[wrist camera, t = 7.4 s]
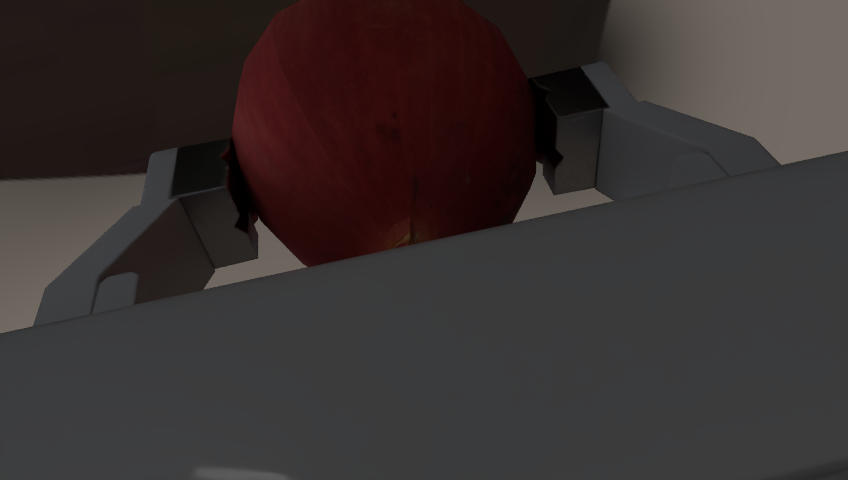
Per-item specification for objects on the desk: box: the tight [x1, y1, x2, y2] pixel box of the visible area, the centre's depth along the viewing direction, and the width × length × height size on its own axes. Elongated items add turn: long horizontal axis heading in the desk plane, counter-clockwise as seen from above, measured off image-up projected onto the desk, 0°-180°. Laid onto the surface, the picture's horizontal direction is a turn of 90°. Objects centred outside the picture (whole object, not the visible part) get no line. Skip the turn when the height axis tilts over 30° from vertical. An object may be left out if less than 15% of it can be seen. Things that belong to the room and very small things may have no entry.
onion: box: [231, 0, 536, 267], centre depth 12 cm, size 6×6×8 cm
